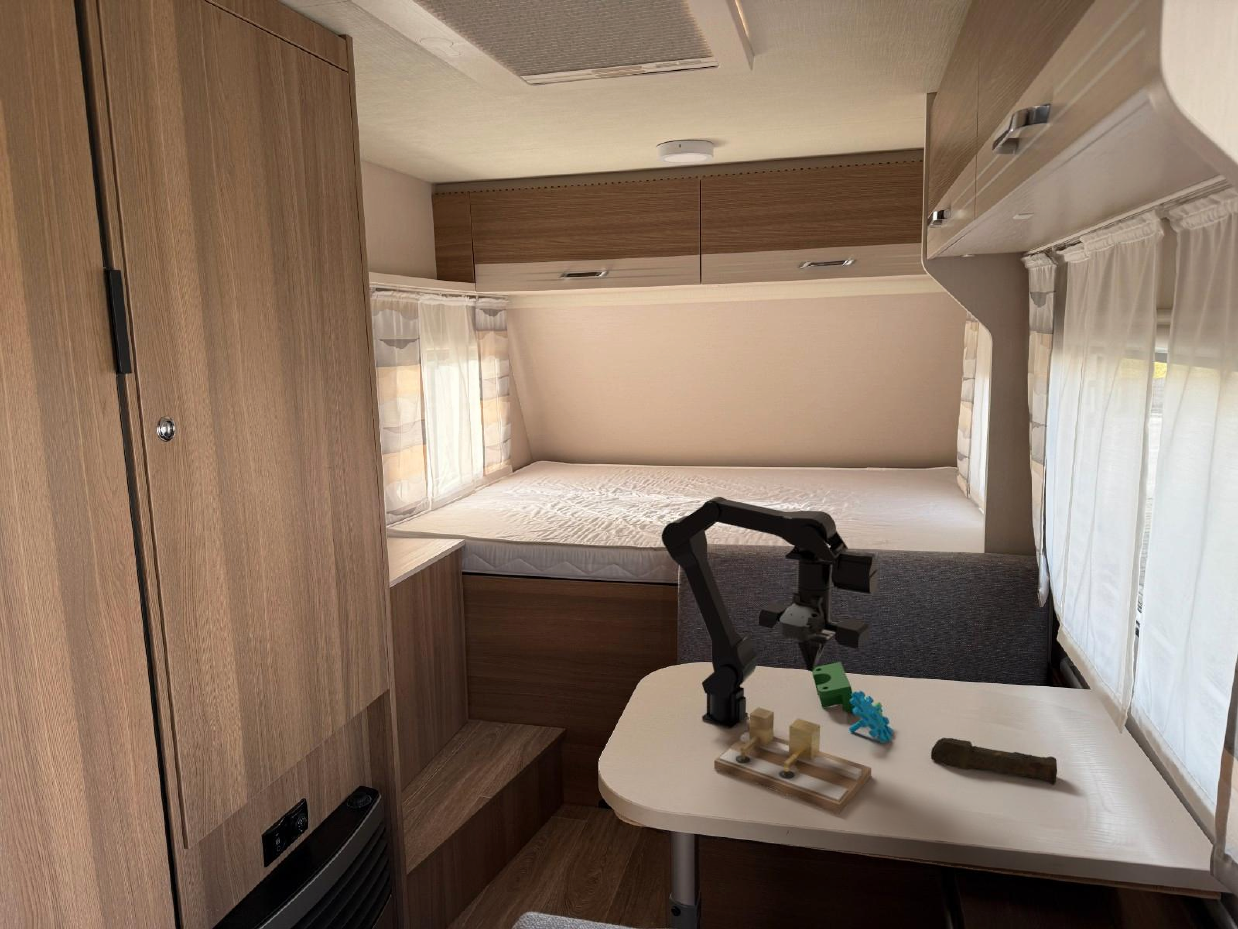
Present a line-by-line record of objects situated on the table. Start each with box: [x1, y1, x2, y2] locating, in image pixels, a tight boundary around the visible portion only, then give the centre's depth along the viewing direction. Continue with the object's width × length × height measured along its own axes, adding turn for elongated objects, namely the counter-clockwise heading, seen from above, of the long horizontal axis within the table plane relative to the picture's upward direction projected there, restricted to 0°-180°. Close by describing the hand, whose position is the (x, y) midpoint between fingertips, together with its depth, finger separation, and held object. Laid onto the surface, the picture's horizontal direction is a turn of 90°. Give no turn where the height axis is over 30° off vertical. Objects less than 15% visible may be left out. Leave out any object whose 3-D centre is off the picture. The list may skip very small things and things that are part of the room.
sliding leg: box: [784, 718, 821, 775], centre depth 140 cm, size 4×8×6 cm, turn 143°
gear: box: [848, 690, 894, 744], centre depth 154 cm, size 11×6×10 cm
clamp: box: [811, 661, 855, 713], centre depth 166 cm, size 12×6×9 cm, turn 170°
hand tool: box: [930, 737, 1058, 786], centre depth 141 cm, size 19×4×5 cm, turn 67°
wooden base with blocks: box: [713, 707, 872, 814], centre depth 141 cm, size 22×13×8 cm, turn 53°
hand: (810, 670), depth 150 cm, fingers closed
